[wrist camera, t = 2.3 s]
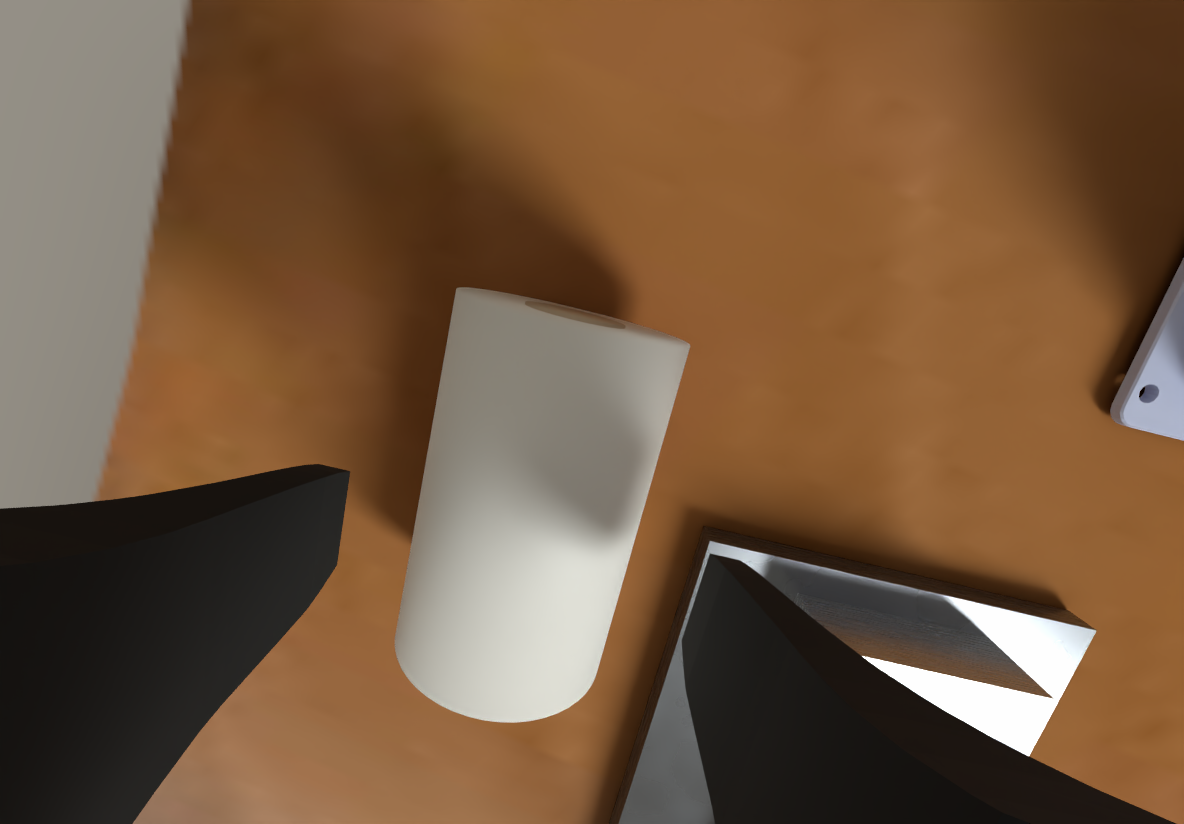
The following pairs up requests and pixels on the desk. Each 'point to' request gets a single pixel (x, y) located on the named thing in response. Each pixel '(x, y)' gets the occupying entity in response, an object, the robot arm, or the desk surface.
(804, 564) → the roll cradle
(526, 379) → the paper roll
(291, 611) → the robot arm
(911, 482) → the desk surface
